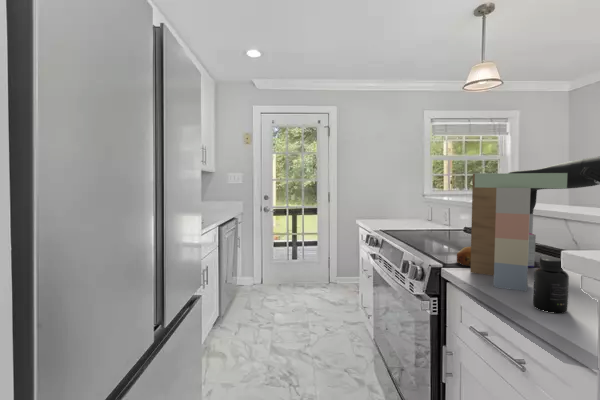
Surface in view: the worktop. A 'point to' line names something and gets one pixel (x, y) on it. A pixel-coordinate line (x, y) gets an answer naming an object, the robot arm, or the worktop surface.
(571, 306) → the worktop surface
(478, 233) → the walnut stand
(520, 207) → the brick tower
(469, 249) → the bread roll
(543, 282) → the supplement bottle
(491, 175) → the long brick
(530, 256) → the supplement box
